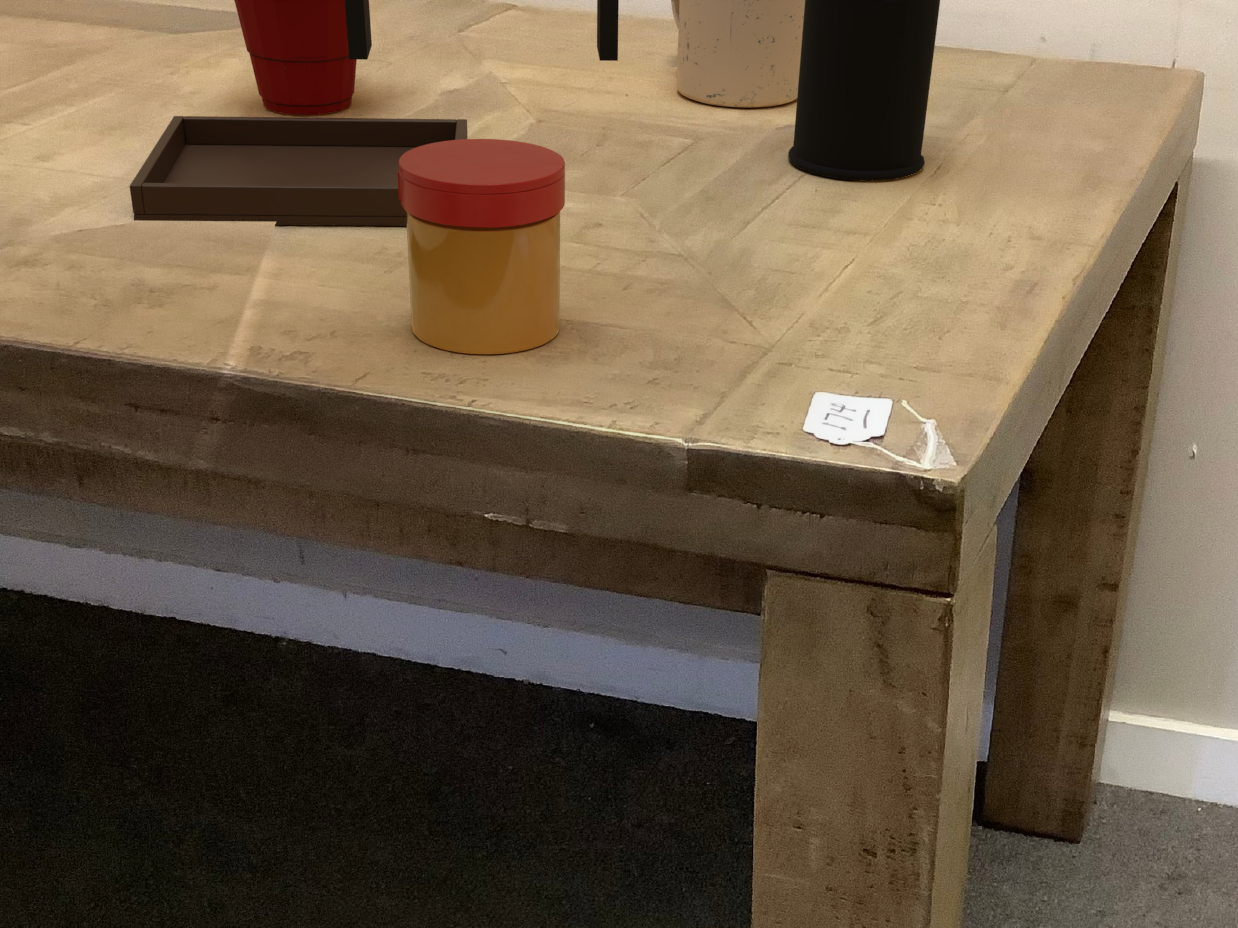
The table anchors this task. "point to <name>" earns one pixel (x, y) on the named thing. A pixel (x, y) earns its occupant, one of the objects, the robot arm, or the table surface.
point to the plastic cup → (299, 54)
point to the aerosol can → (864, 87)
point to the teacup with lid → (739, 51)
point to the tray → (282, 169)
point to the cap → (482, 182)
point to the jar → (484, 285)
